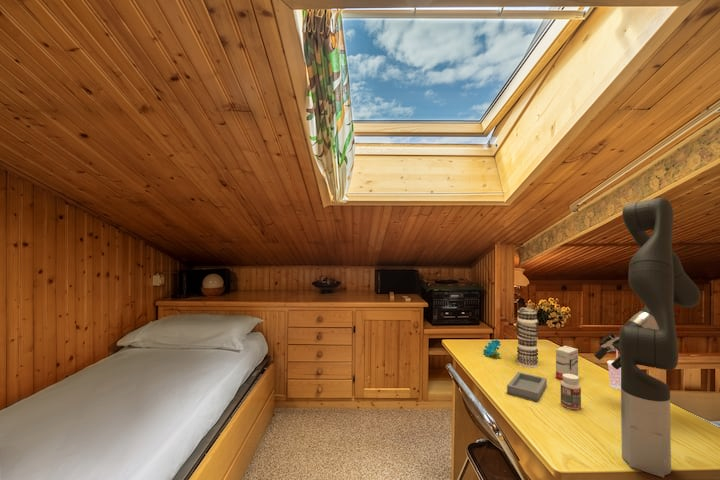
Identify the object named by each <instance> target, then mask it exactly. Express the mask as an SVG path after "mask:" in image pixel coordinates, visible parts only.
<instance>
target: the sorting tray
mask: <svg viewBox="0 0 720 480" xmlns="http://www.w3.org/2000/svg"><path fill="white" fill-rule="evenodd" d="M547 380H548V379H547V378H546V377H544V376H543V377H541V376H537V375H534V374H530V373H525V372H520V371H517V373H516V374H515V375H514V376H513V377H512V379H511V380H510V381H509V382H508V384H507V385H506V394H508V395H511V396H513V397H514V396H515V397H518V398H521V399H526V400H530V401H532V402H536V403H539V401H540V400H541V398H542V396H543V394H544V392H545V390H546V389H547V386H548V385H547V383H548V381H547Z"/></svg>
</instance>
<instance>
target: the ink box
mask: <svg viewBox="0 0 720 480" xmlns="http://www.w3.org/2000/svg"><path fill="white" fill-rule="evenodd" d="M563 374H573V375H576V376H578V377H579V349H578V348H576V347H575V348H574V347H571V346H568V345H563V346H561V347H558V348H556V349H555V379H557V380H560V381H562V380H563V378H562V375H563Z"/></svg>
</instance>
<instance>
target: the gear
mask: <svg viewBox="0 0 720 480" xmlns="http://www.w3.org/2000/svg"><path fill="white" fill-rule="evenodd" d="M500 346H501V340H500V339H497V338H496V339H491V342H490V341H489V342H487V345H485V346H484V349H483V350H482V352H483V355H484V356H486V357H489V356H490V357H491V356H493V355H495V356H496V357H498V358H499V359H500V360H501V359H502V357H501V356H500V355H501V354H500V353H499V351H498V350H500Z"/></svg>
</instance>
